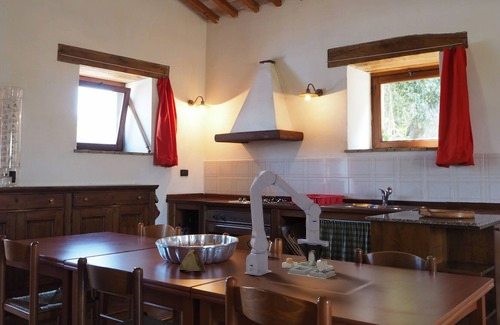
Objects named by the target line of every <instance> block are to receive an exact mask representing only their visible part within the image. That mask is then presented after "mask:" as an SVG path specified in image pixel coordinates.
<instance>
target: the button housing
mask: <svg viewBox="0 0 500 325" xmlns="http://www.w3.org/2000/svg"><path fill="white" fill-rule="evenodd" d="M295 264H298V261H297V262H296V261H293V263H291V264H290V263H287V261H284V262H282V263H281V268H283V269H291V268H294V265H295Z"/></svg>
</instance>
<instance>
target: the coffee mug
mask: <svg viewBox="0 0 500 325" xmlns="http://www.w3.org/2000/svg"><path fill="white" fill-rule="evenodd" d="M270 237H271V236H270V235H266V239H267V241H268V244H269V246H270ZM250 241H251V239H248V240H247V242H246V245H247V247H248V248H249V249H250V250H252V246H250V245H249V243H250ZM269 246H268V249H267V251H268V252H269Z"/></svg>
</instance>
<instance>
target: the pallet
mask: <svg viewBox="0 0 500 325" xmlns="http://www.w3.org/2000/svg"><path fill="white" fill-rule="evenodd" d="M287 274H288V275H294V276H295V275H297V276H302V277H303V276H304V277H307V278H308V277H309V278H310V277H311V278H317V279H322V280H323V279H325V280H326V279H328V278H332V277H334V276H336V275H337V274H336V272H335V270H327V273H325V274H324V273H317V270H314V271H313V268H307V267H299V266H298V267H295V268H294V267H293V268H288V272H287Z"/></svg>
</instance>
